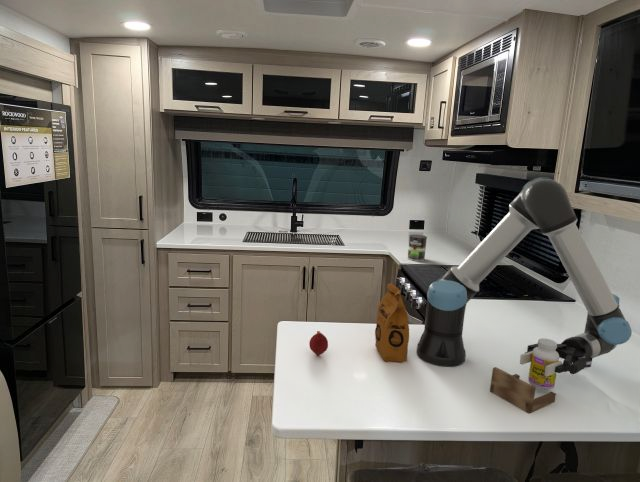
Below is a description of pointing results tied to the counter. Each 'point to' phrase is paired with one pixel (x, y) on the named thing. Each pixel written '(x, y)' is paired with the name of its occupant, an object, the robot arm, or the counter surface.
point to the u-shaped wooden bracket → (518, 391)
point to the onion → (318, 343)
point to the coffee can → (417, 247)
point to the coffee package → (392, 327)
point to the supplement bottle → (543, 364)
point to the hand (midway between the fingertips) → (533, 365)
